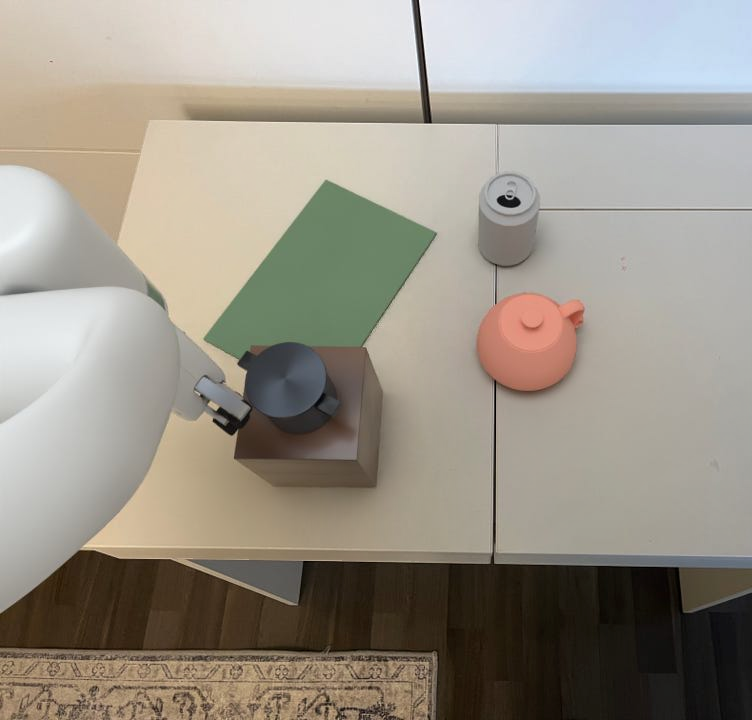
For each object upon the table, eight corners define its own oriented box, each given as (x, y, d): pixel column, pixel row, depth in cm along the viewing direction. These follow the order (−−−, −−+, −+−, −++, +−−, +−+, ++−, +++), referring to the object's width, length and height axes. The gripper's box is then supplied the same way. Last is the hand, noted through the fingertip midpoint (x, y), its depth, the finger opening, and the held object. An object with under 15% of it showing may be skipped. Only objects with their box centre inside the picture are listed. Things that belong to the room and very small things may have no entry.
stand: (376, 487, 77) (357, 460, 64) (273, 486, 77) (233, 458, 64) (382, 390, 81) (366, 346, 68) (285, 389, 81) (250, 345, 68)
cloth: (322, 405, 80) (322, 404, 80) (203, 340, 83) (202, 338, 83) (436, 234, 90) (436, 232, 89) (326, 181, 93) (325, 179, 92)
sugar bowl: (460, 330, 84) (459, 292, 75) (557, 289, 87) (568, 248, 77) (502, 413, 80) (507, 384, 71) (602, 368, 83) (619, 334, 73)
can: (473, 264, 88) (473, 212, 77) (482, 217, 91) (484, 161, 80) (528, 273, 88) (537, 222, 76) (536, 225, 90) (545, 170, 79)
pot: (325, 457, 64) (311, 440, 58) (236, 407, 66) (213, 386, 60) (366, 394, 66) (356, 371, 60) (279, 347, 68) (261, 321, 62)
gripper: (-26, 300, 46) (101, 385, 62) (167, 417, 43) (248, 475, 59) (50, 222, 49) (153, 323, 64) (237, 328, 46) (298, 406, 61)
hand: (198, 396), depth 62 cm, fingers open, 9 cm apart
